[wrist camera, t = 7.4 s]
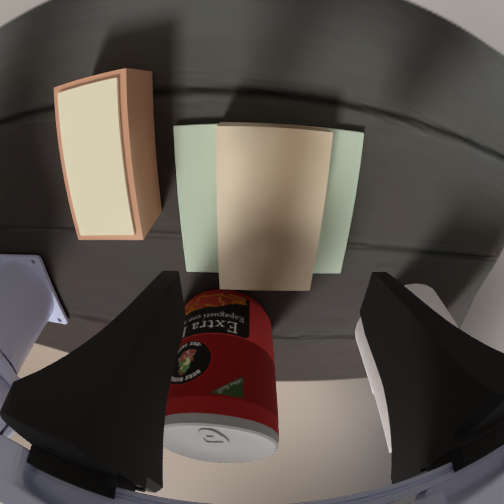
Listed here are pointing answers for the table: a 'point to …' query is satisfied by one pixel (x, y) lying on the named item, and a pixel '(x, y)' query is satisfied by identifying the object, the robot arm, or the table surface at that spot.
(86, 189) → the brown and cream block
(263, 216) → the beige block
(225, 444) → the canned food
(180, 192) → the mat
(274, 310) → the table surface
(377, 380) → the cylinder with rectangular tab
